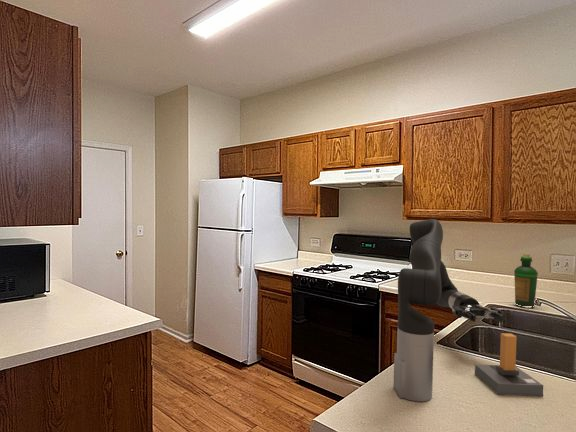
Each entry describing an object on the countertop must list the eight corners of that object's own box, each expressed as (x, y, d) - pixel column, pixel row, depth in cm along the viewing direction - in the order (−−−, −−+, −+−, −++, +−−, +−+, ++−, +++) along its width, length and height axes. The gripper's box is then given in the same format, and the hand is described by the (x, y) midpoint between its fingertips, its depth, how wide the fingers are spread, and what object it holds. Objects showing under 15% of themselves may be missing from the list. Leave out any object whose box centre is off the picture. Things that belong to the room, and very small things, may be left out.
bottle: (509, 303, 201) (511, 252, 200) (531, 304, 199) (532, 253, 198) (517, 308, 190) (519, 255, 190) (540, 309, 188) (542, 256, 188)
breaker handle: (503, 375, 102) (504, 336, 102) (495, 369, 105) (497, 332, 105) (518, 375, 102) (520, 337, 102) (511, 369, 105) (512, 333, 105)
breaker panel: (498, 394, 97) (498, 383, 97) (474, 373, 110) (475, 364, 110) (543, 396, 97) (543, 384, 97) (514, 375, 110) (514, 365, 110)
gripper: (444, 294, 130) (465, 306, 114) (483, 294, 130) (511, 307, 114) (443, 314, 131) (465, 330, 114) (482, 315, 131) (510, 331, 114)
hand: (488, 318), depth 114 cm, fingers open, 8 cm apart
